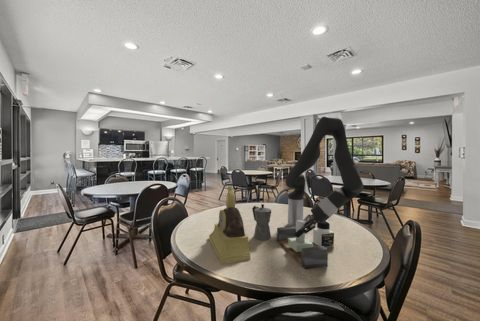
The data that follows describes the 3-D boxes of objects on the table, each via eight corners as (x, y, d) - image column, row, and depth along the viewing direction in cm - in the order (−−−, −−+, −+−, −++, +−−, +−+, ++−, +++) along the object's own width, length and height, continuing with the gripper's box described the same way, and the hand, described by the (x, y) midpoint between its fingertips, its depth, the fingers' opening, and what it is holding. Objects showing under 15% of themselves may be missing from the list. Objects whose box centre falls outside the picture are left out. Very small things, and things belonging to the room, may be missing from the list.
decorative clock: (209, 238, 115) (209, 182, 114) (232, 235, 119) (232, 182, 118) (221, 264, 88) (221, 191, 87) (250, 259, 92) (250, 190, 91)
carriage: (288, 244, 101) (288, 219, 101) (303, 243, 103) (303, 218, 102) (296, 252, 93) (296, 224, 93) (312, 250, 95) (313, 223, 95)
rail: (277, 241, 111) (277, 227, 111) (294, 239, 114) (294, 226, 113) (305, 269, 84) (305, 251, 84) (327, 266, 86) (327, 249, 86)
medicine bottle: (321, 248, 103) (321, 223, 103) (312, 242, 110) (313, 219, 110) (334, 246, 105) (334, 222, 105) (324, 240, 112) (325, 218, 111)
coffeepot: (277, 239, 114) (277, 205, 114) (263, 243, 109) (263, 207, 108) (259, 230, 127) (259, 200, 126) (246, 233, 122) (246, 202, 121)
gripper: (316, 200, 102) (290, 223, 106) (320, 207, 89) (289, 233, 92) (328, 211, 101) (301, 234, 105) (333, 221, 88) (302, 247, 91)
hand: (295, 234), depth 98 cm, fingers closed on carriage, 4 cm apart
